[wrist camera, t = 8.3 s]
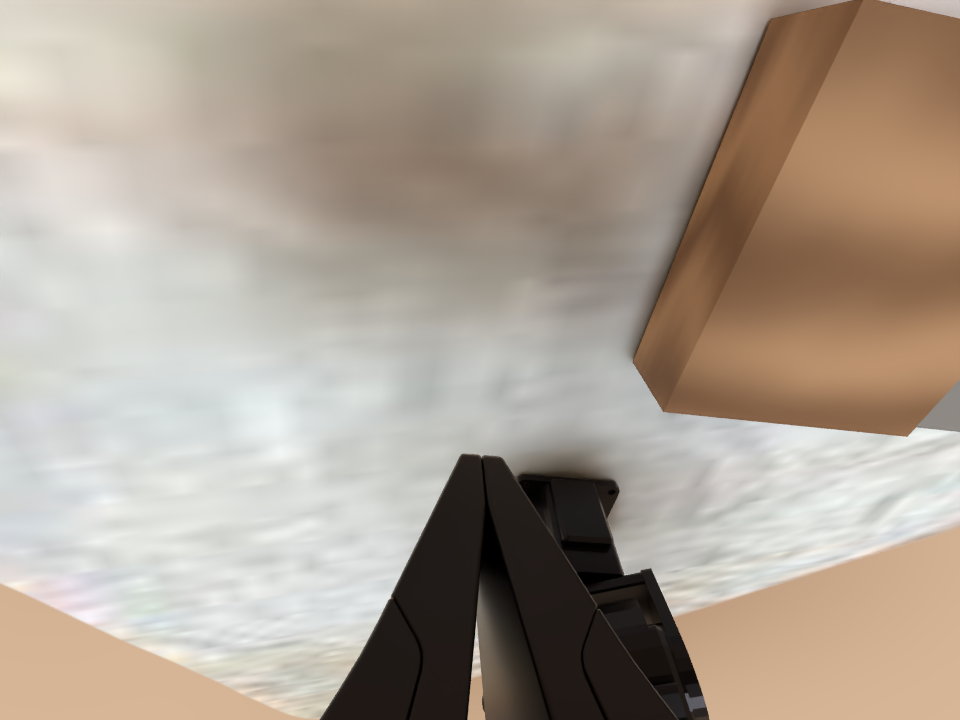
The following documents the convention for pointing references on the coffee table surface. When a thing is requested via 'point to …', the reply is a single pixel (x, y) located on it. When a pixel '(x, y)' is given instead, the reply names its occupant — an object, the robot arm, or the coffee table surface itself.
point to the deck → (824, 233)
